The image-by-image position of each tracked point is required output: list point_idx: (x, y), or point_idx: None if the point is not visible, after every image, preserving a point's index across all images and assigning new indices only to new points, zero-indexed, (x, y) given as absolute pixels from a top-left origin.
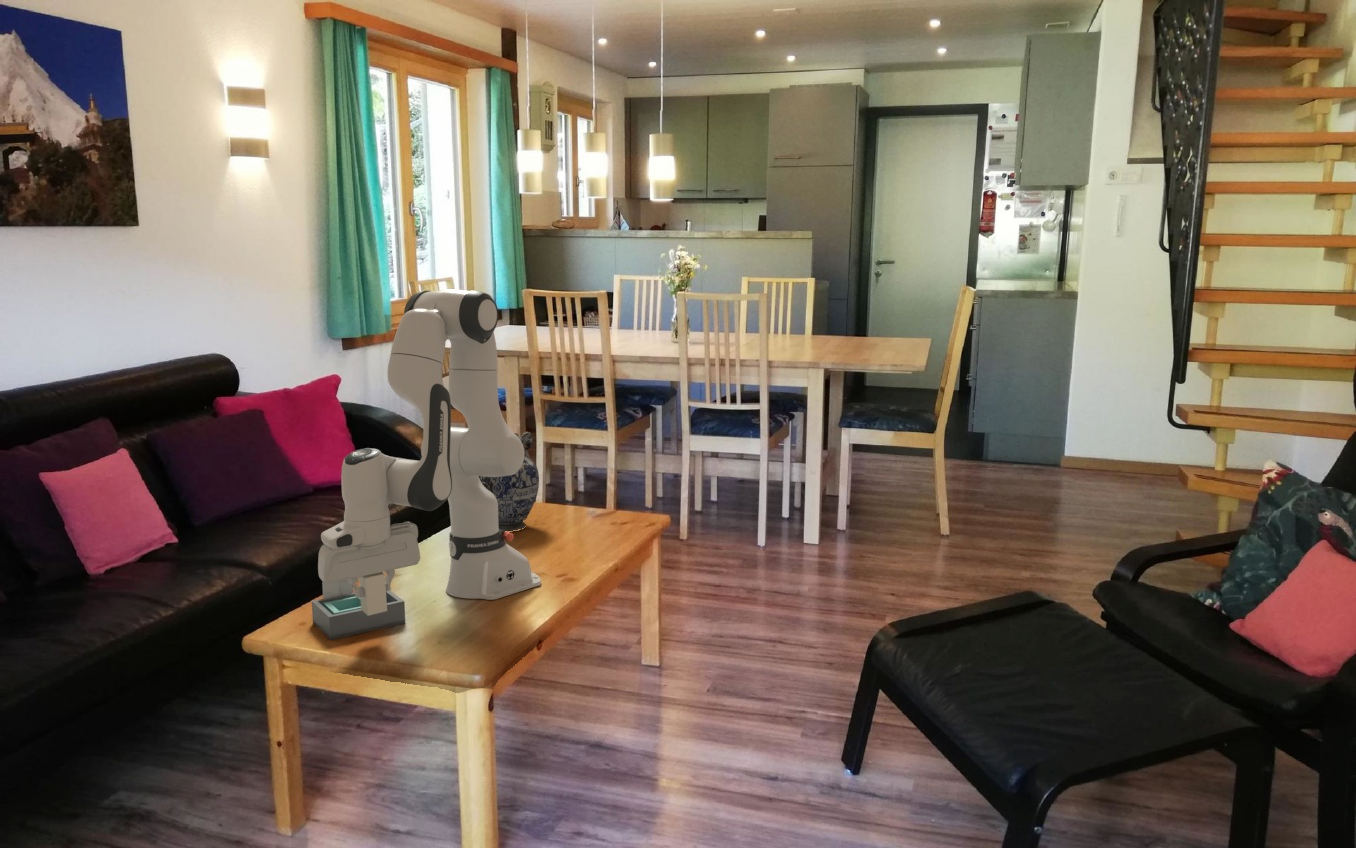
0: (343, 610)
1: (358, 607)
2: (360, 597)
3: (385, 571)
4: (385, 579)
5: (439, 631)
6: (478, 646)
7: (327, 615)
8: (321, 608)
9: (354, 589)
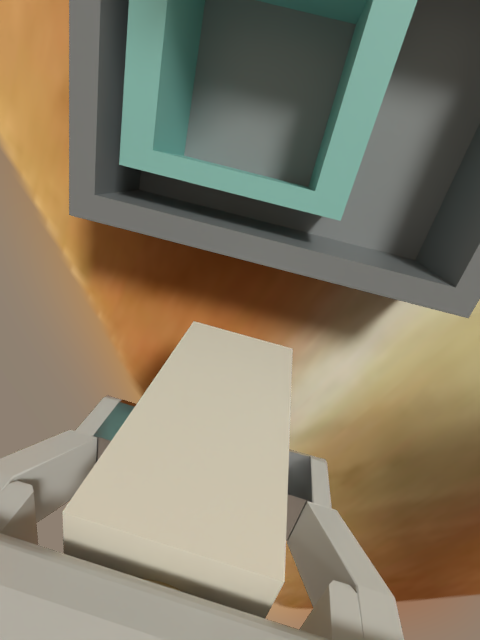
0: (172, 164)
1: (255, 188)
2: (168, 360)
3: (322, 613)
4: (311, 528)
5: (420, 423)
6: (388, 550)
7: (70, 181)
8: (77, 22)
9: (80, 426)
